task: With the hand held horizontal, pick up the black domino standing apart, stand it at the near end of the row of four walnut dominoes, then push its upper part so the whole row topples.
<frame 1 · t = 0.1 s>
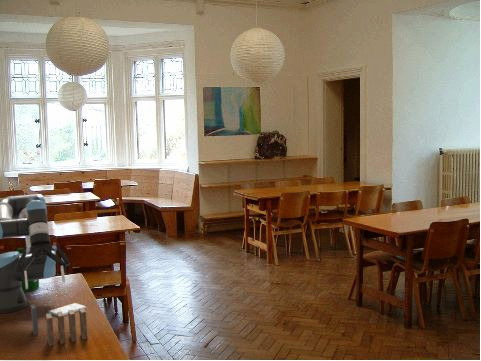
hand: (45, 285, 205), 15 cm above the table, tool tilted 35°, fingers open, 13 cm apart
black domino: (35, 332, 197), on the table
walnut domino 2: (62, 341, 188), on the table
walnut domino 1: (50, 343, 186), on the table
walnut domino 4: (84, 336, 191), on the table
walnut domino 3: (73, 338, 190), on the table
milk carton: (29, 289, 254), on the table
external hard drive: (67, 312, 220), on the table
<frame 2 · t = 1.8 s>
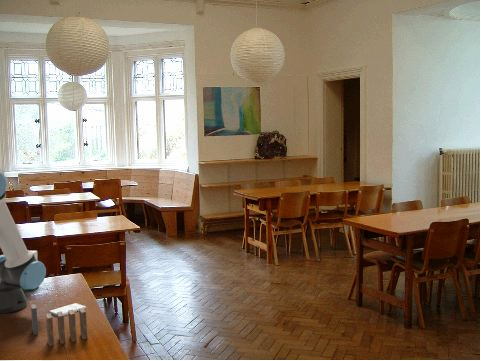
nothing on the table moved.
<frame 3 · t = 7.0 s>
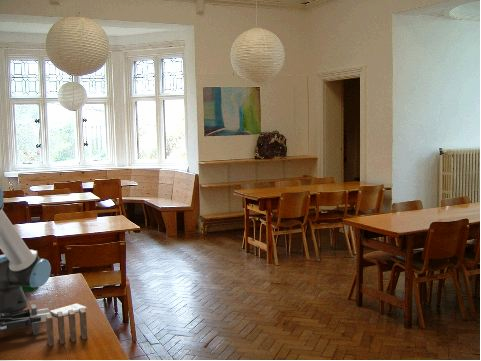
hand: (49, 314, 199), 6 cm above the table, tool horizontal, fingers closed on black domino, 5 cm apart
black domino: (35, 332, 197), on the table, touching gripper
everything else where it was.
when the fingers open (7 cm above the table, at t = 12.1 s): black domino stays where it is, on the table.
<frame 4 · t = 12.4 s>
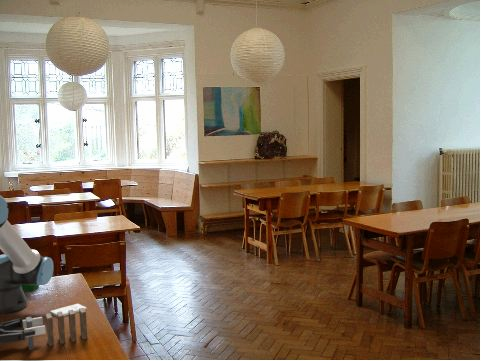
hand: (43, 325, 185), 7 cm above the table, tool horizontal, fingers open, 9 cm apart
black domino: (31, 347, 183), on the table
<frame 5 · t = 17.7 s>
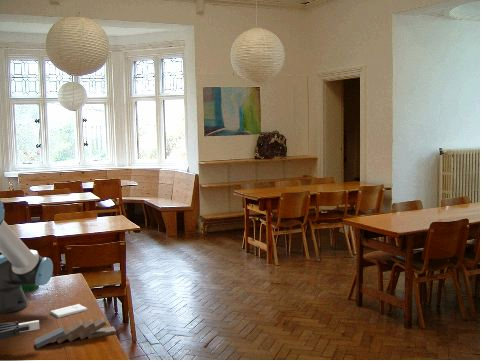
hand: (39, 324, 184), 7 cm above the table, tool horizontal, fingers closed
black domino: (35, 344, 184), point 1 cm above the table, tilted 73°
walnut domino 2: (68, 337, 189), point 1 cm above the table, tilted 66°, touching walnut domino 1, walnut domino 3
walnut domino 1: (56, 339, 187), point 1 cm above the table, tilted 66°, touching walnut domino 2
walnut domino 4: (86, 335, 192), on the table, tilted 90°, touching walnut domino 3
walnut domino 3: (79, 335, 190), point 1 cm above the table, tilted 67°, touching walnut domino 2, walnut domino 4
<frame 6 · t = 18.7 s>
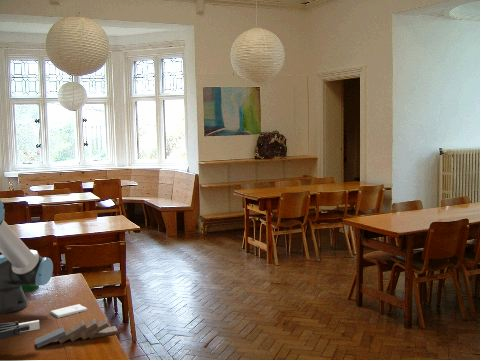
hand: (39, 324, 184), 8 cm above the table, tool horizontal, fingers closed
black domino: (36, 343, 184), point 1 cm above the table, tilted 74°, touching walnut domino 1
walnut domino 2: (70, 337, 189), point 1 cm above the table, tilted 65°, touching walnut domino 1, walnut domino 3
walnut domino 1: (59, 339, 187), point 1 cm above the table, tilted 65°, touching black domino, walnut domino 2
walnut domino 3: (82, 335, 190), point 1 cm above the table, tilted 66°, touching walnut domino 2, walnut domino 4
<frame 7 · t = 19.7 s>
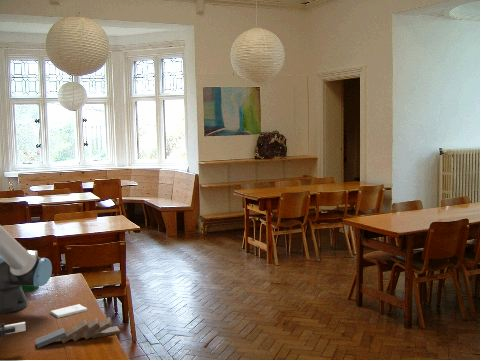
hand: (25, 326, 182), 8 cm above the table, tool horizontal, fingers closed
black domino: (36, 343, 184), point 1 cm above the table, tilted 76°
walnut domino 1: (61, 339, 188), point 1 cm above the table, tilted 65°, touching walnut domino 2
walnut domino 3: (85, 334, 190), point 1 cm above the table, tilted 66°, touching walnut domino 2, walnut domino 4
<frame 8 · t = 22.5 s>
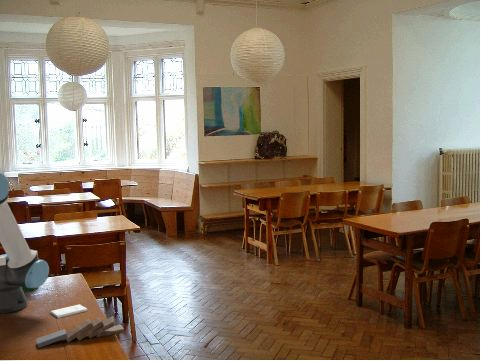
hand: (5, 260, 184), 30 cm above the table, tool horizontal, fingers closed
walnut domino 2: (76, 337, 189), point 1 cm above the table, tilted 64°, touching walnut domino 1
walnut domino 1: (66, 338, 188), point 1 cm above the table, tilted 64°, touching walnut domino 2
walnut domino 4: (95, 334, 192), on the table, tilted 90°, touching walnut domino 3
walnut domino 3: (88, 333, 191), point 1 cm above the table, tilted 67°, touching walnut domino 4
at the end: walnut domino 4 tilted 90°; black domino tilted 80°; black domino moved 13.8 cm from its start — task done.
